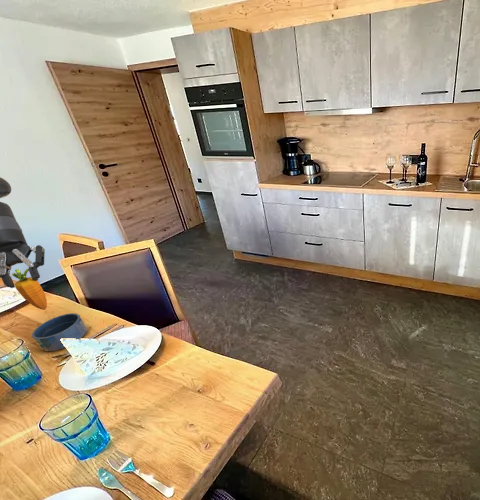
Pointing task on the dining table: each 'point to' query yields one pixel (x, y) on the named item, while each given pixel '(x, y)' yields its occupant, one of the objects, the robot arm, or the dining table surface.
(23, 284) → the carrot
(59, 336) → the bowl
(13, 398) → the dining table surface
